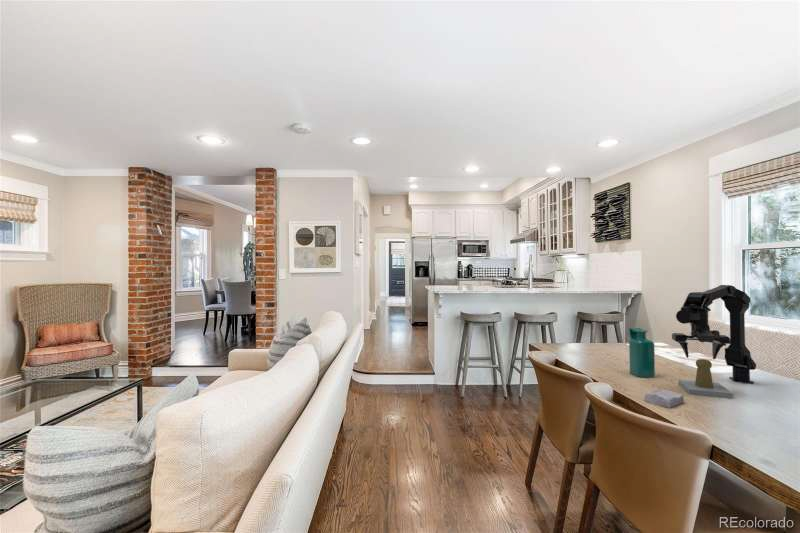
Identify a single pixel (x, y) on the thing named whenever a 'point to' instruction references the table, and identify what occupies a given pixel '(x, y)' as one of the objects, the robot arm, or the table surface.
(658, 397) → the stone block
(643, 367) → the teal bottle
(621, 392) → the table surface
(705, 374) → the cork
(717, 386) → the plinth
